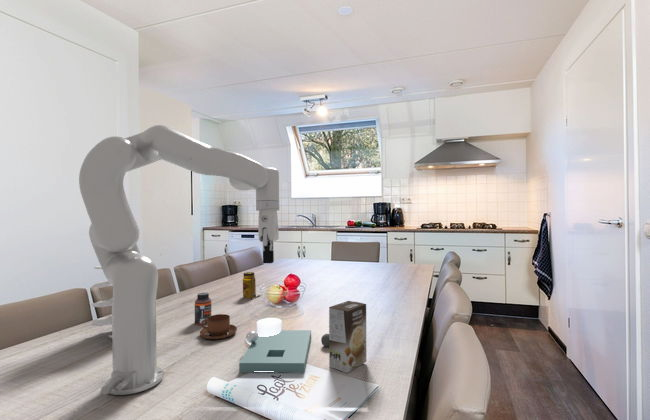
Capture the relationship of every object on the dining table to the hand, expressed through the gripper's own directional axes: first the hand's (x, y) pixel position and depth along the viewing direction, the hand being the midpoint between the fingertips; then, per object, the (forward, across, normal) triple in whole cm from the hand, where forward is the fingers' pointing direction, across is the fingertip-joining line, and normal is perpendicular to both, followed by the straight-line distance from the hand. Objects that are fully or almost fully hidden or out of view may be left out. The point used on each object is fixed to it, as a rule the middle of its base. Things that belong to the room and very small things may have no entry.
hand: (268, 262), depth 110 cm
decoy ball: (+23, -5, -19) cm, 30 cm away
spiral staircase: (+25, +4, +51) cm, 57 cm away
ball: (+21, -8, +3) cm, 23 cm away
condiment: (+25, +55, +20) cm, 64 cm away
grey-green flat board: (+25, -10, -5) cm, 27 cm away
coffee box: (+25, -17, -25) cm, 39 cm away
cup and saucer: (+26, +4, +18) cm, 32 cm away
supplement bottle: (+25, +16, +28) cm, 41 cm away
